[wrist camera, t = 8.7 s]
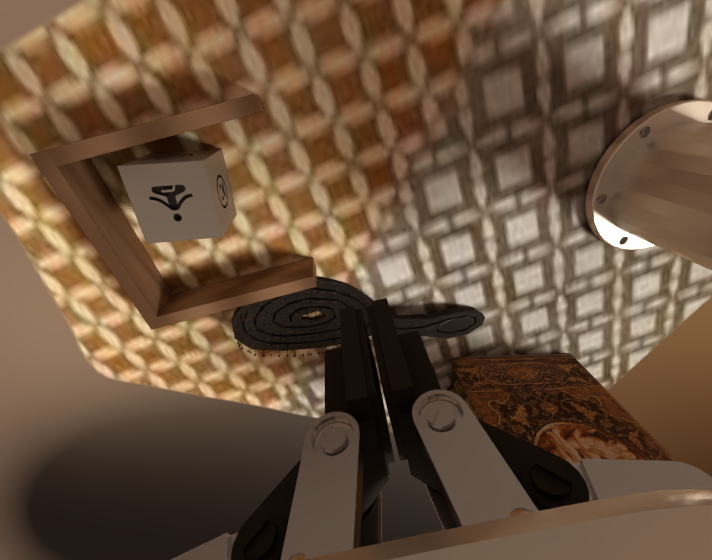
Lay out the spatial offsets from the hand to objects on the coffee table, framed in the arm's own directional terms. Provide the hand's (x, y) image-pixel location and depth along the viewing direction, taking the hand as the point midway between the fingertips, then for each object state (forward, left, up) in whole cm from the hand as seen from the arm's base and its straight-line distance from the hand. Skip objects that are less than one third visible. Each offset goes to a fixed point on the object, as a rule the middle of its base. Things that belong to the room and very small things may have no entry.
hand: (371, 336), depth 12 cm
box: (+10, -1, -18) cm, 21 cm away
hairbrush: (0, +12, -19) cm, 22 cm away
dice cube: (+10, -4, -18) cm, 21 cm away
